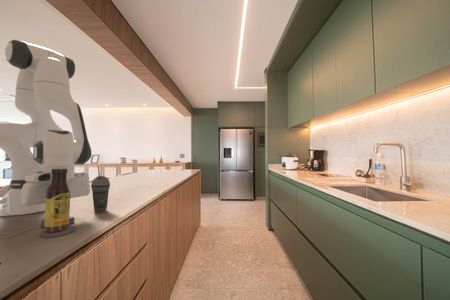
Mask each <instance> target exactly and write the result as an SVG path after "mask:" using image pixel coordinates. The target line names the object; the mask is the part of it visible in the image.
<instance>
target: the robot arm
mask: <svg viewBox="0 0 450 300" xmlns="http://www.w3.org/2000/svg"><path fill="white" fill-rule="evenodd" d="M4 55H5V59H6V61H7V62H8V63H9V64H10V65H11V66H13V67H15V68H17V69H20V70H19V72H18V75H17V79H16V85H15V98H14V106H15V107H16V109H17V110H18V111H20V112H21V113H23V114H25V115H27V116H29V118H30V119H31V122H24V121H15V120H2V121H0V149H1V150H2V151H3V152H4V153H5V154H6V155H7V156H8V159H9V161H10V164H11V180H10V182H9V190H8V191H7V192H6V193H5V195H3V196H2V198H0V205H1V206H0V217H9V216H22V215H23V216H24V215H29V214H36V213H41V212H45V204H46V192H47V189H48V187H49V186H50V185H51V184H52V173H51V172H52V169H67V174H66V180H67V181H66V182H67V185H68V189H69V191H70V199H73V198H80V197H85V196H89V195H90V193H91V184H90V176H89V174H88V173H86V172H75V165H78V166H83V165H85V164H86V163H88V162H89V161H90V160H91V158H92V154H93V153H92V148H91V145H90V142H89V138H88V135H87V129H86V124H85V121H84V116H83V113H82V108H81V107H80V105H79V103H78V102H76V101H75V100H74V99H73V97H72V94H71V91H70V90H71V89H70V85H71V84H70V79H72V78H73V77H74V75H75V73H76V64H75V62H74V60H73V59H72V58H70V57H69V56H67V55H65V54H61V53H59V52H57V51H54V50H52V49H50V48H46V47H43V46H40V45H37V44H32V43H28V42H26V41H25V40H20V39H19V40H18V39H12V40H10V41H8V43H7V45H6V46H5V48H4ZM51 112H55V113H57V114H59V115H62V116H63V117H65V118H67V120H68V121H69V122H70V125H71V130H72V131H68V130H64V129H63V128H62V127H61V126H60V125H58V124H57V123H56V122H55V120H54V119H53V117H52V114H51ZM31 148H32V149H33V152H32V150H31Z"/></svg>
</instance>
